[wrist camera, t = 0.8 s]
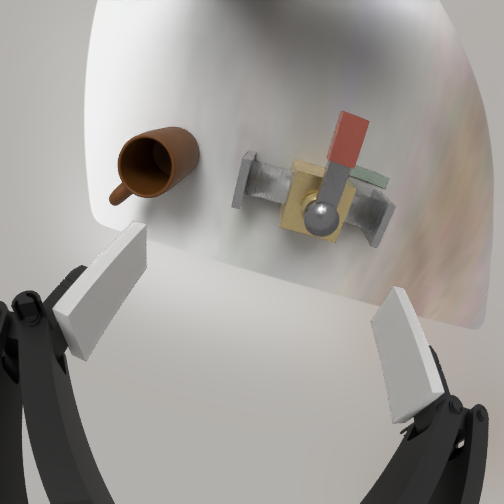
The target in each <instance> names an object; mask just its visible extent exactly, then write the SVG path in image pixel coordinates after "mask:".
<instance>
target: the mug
mask: <svg viewBox="0 0 504 504" xmlns="http://www.w3.org/2000/svg"><path fill="white" fill-rule="evenodd" d="M198 158H199V148H198V144H197V142H196V140H195V138H194V137H193V135H192V134H191V133H189V132H188V131H187V130H185V129H182V128H179V127H167V128H162V129H157V130H153V131H148V132H145V133H142V134H140V135H137V136H135V137H133V138H131V139H130V140H129V141H128V142H126V144H125V145H124V146H123V148H122V150H121V152H120V154H119V158H118V172H119V176H120V179H121V181H122V183H121V184H120V185H119V186H118V187H117V188H116V189H115V190H114V191H113V192H112V193H111V195H110V197H109V201H110V203H111V204H112V205H114V206H116V205H119V204H120V203H122V202H123V201H124V200H126V199H127V198H128V197H129V196H130V195H132V194H135V195H137V196H139V197H143V198H153V197H157V196H159V195H161V194H163V193H164V192H166V191H168V190H169V189H171V188H172V187H174V186H175V185H176V184H177V183H179V182H180V181H181V180H182V179H184V178H185V177H186V176H187V175H189V174H190V173H191V172H192V170H193V169H194V168H195V166H196V164H197V162H198Z"/></svg>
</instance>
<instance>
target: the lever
mask: <svg viewBox="0 0 504 504" xmlns="http://www.w3.org/2000/svg"><path fill="white" fill-rule="evenodd" d="M368 124H369V121H368V120H365V119H363V118H360V117H358V116H355V115H352V114H350V113H347V112H344V111H341V112H340V115H339V119H338V122H337V125H336V129H335V132H334V135H333V138H332V142H331V145H330V148H329V151H328V155H327V159H328V163H327V166H326V169H325V172H324V175H323V178H322V181H321V184H320V187H319V190H318V193H317V196H316V199H315V200H313V201H311V202H309V203H308V204H307V206H306V207H305V209H304V212H303V218H304V224H305V227H306V229H307V230H308V232H309V233H311V234H312V235H314V236H318V237H325V236H328V235H330V234H332V233H333V232H334V231H335V230H336V229H337V227H338V225H339V214H338V212H337V210H336V209H337V207H338V204H339V202H340V199H341V196H342V194H343V191H344V188H345V185H346V182H347V180H348V177H349V174H350V171H351V168H352V169H354V167H355V164H356V161H357V159H358V156H359V153H360V149H361V146H362V143H363V140H364V137H365V134H366V131H367V128H368Z"/></svg>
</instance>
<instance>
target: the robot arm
mask: <svg viewBox="0 0 504 504" xmlns="http://www.w3.org/2000/svg"><path fill="white" fill-rule="evenodd" d="M146 225H147V224H143V223H139V222H135V221H133V222H132V223H131V224H130V225H129V226H128V227H127V228H126V229H125V230H124V231H123V232H122V233H121V234H120V235H119V236H118V237H117V238H116V239H115V240H114V241H113V242H112V243H111V244H110V245H109V246H108V247H107V248H106V249H105V250H104V251H103V252H102V253H101V254H100V255H99V256H98V257H97V258H96V259H95V260H94V261H93V263H91V265H90V266H89V267H86V266H83V265H81V266H79V267H77V268H76V269H74V270H72V271H71V272H70V273H69V274H68V275H67V276H66V277H65V279H64V280H63V281H62V282H61V283H60V285H58V286H57V287H56V288H55V290H54V291H53V292H52V293H51V294H50V295H49V296H48V298H47V299H46V300H45V301H44V302H43V303H42V301H41V298H40V295H39V294H38V293H37V292H34V291H24V292H21V293H20V294H18V295H17V296H16V297H15V298H14V300H13V301H12V305H11V307H12V309H13V311H14V312H11V311H9V310H8V308H7V306H6V304H5V303H4V302H2V301H0V504H28V499H27V493H26V486H25V478H24V469H23V457H22V408H23V407H24V414H25V419H26V425H27V430H28V434H29V439H30V443H31V447H32V451H33V455H34V458H35V461H36V465H37V468H38V471H39V474H40V477H41V480H42V483H43V486H44V489H45V491H46V494H47V496H48V499H49V501H50V504H115V503H114V501H113V499H112V497H111V495H110V493H109V491H108V489H107V487H106V485H105V483H104V481H103V479H102V476H101V474H100V472H99V470H98V467H97V465H96V462H95V460H94V457H93V455H92V452H91V450H90V447H89V444H88V441H87V438H86V435H85V432H84V429H83V426H82V423H81V419H80V416H79V413H78V409H77V405H76V402H75V398H74V394H73V389H72V385H71V380H70V376H69V371H68V366H67V360H66V355H65V353H64V352H65V350H66V349H67V347H69V349H70V351H71V354H72V355H74V356H76V357H78V358H80V359H82V360H84V361H87V359H88V358H89V356H90V354H91V353H92V351H93V349H94V348H95V346H96V344H97V343H98V341H99V339H100V338H101V336H102V335H103V333H104V331H105V330H106V328H107V326H108V325H109V323H110V322H111V320H112V319H113V317H114V315H115V314H116V312H117V311H118V309H119V308H120V306H121V305H122V303H123V302H124V300H125V299H126V297H127V296H128V294H129V293H130V291H131V290H132V288H133V287H134V285H135V284H136V283H137V281H138V280H139V278H140V277H141V275H142V274H143V273H144V271H145V270H146V268H147V267H146ZM371 324H372V328H373V332H374V336H375V340H376V344H377V348H378V352H379V356H380V360H381V365H382V370H383V374H384V379H385V383H386V389H387V394H388V400H389V405H390V411H391V417H392V423H393V424H396V423H405V422H407V421H408V420H410V419H411V418H412V417H414V423H412V424H411V425H409V426H408V427H406V428H405V429H403V430H402V431H401V432H400V434H402V433H404V432H405V431H407V433H406V434H405V435H404V438H403V440H402V442H401V443H400V445H399V447H398V449H397V451H396V452H395V454H394V455H393V457H392V459H391V460H390V462H389V463H388V465H387V467H386V468H385V470H384V471H383V473H382V474H381V476H380V477H379V479H378V480H377V481H376V483H375V484H374V486H373V487H372V488H371V490H370V491H369V492H368V494H367V495H366V496H365V498H364V499H363V500H362V502H361V503H360V504H479V501H480V496H481V491H482V486H483V480H484V474H485V466H486V458H487V446H488V424H489V423H488V421H489V418H488V413H487V410H486V409H485V407H484V406H482V405H480V404H477V405H475V406H474V407H473V408H472V409H467V408H464V407H463V405H462V403H461V401H460V400H459V399H458V398H457V397H456V396H454V395H450V392H449V389H448V386H447V383H446V380H445V377H444V374H443V371H441V370H442V368H441V365H440V364H439V360H438V357H437V354H436V353H435V351H434V350H433V348H432V347H431V346H429V345H428V343H427V340H426V338H425V335H424V333H423V330H422V328H421V325H420V323H419V321H418V318H417V316H416V314H415V311H414V309H413V307H412V304H411V302H410V300H409V298H408V296H407V294H406V292H405V289H404V288H400V287H396V286H393V288H392V289H391V291H390V292H389V294H388V296H387V297H386V299H385V300H384V302H383V304H382V305H381V307H380V308H379V310H378V311H377V313H376V314H375V316H374V317H373V319H372V320H371ZM463 440H464V445H463V446H462V447H460V448H458V444H459V443H460V442H462V441H463Z"/></svg>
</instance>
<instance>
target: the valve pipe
mask: <svg viewBox="0 0 504 504" xmlns="http://www.w3.org/2000/svg"><path fill="white" fill-rule="evenodd" d="M255 156H256V152H252V151H248V152H247V154H246V155H245V156H244V157H243V159H242V163H241V167H240V171H239V176H238V180H237V184H236V189H235V193H234V198H233V202H232V207H233V208H237V209H240V207H241V205H242V202H243V200H244V198H245V195H246V194H247V195H251V196H254V197H258V198H262V199H266V200H270V201H273V202H277V203H281V206H280V227H281V228H285V229H288V230H292V231H296V232H299V233H303V234H306V235H310V236H314V235H312V234H311V233H309V232H308V230H307V229H306V227H305V224H304V218H303V212H304V209H305V207H306V206H307V204H308V203H309V202H311V201H313V200H315V199H316V196H317V193H318V190H319V187H320V184H321V181H322V178H323V175H324V172H325V169H326V168H323V167H320V166H316V165H313V164H310V163H307V162H303V161H300V160H297V159H294V162H293V165H292V168H291V171H290V170H286V169H283V168H279V167H275V166H272V165H268V164H264V163H260V162H256V161H254V160H255ZM349 175H350V176H353V177H356V178H359V179H361V180H364V181H367V182H369V183H372V184H375V185H377V186H380V187H382V188H385V189H386V186H387V183H388V181H389V178H387V177H385V176H382V175H380V174H378V173H375V172H372V171H370V170H367V169H365V168H362V167H359V166H357V165H355V167H354V169H352V168H351V171H350V174H349ZM356 190H357V189H356V188H355V187H354V186H353V184H352V183H351V182H350V181H349V180H347V182H346V185H345V188H344V191H343V194H342V196H341V199H340V202H339V204H338V207H337V209H336V210H337V212H338V214H339V225H338V227H337V229H336V230H335V231H334V232H333V233H332V234H330V235H328V236H325V237H318V236H314V237H317V238H321V239H324V240H328V241H331V242H335V243H336V240H337V238H338V236H339V233H340V231H341V228H342V226H343V223H344V222H346V223H349V224H352V225H355V226H358V227H360V228H361V230H362V232H363V234H364V235H365V237H366V239H367V241H368V243H369V244H370V246H372V247H375V248H377V247H378V245H379V243H380V240H381V238H382V236H383V234H384V232H385V230H386V227H387V225H388V223H389V221H390V218H391V216H392V214H393V211H394V209H395V207H396V206H395V205H394V204H393V203H392V202H391V201H390V200H389V199H388V198H386V197H385V196H384V195H383V194H382V193H381V192H380V191H378V190H375V189H374V192H373V194H372V197H370V196H367V195H365V194H362V193H359V192H356Z"/></svg>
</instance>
